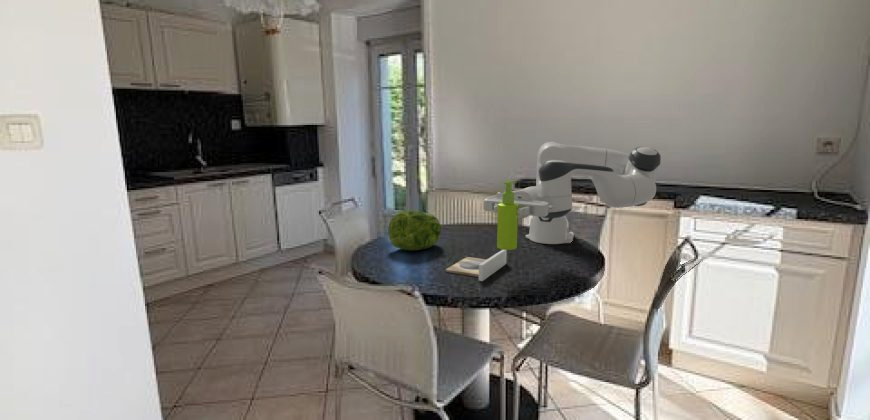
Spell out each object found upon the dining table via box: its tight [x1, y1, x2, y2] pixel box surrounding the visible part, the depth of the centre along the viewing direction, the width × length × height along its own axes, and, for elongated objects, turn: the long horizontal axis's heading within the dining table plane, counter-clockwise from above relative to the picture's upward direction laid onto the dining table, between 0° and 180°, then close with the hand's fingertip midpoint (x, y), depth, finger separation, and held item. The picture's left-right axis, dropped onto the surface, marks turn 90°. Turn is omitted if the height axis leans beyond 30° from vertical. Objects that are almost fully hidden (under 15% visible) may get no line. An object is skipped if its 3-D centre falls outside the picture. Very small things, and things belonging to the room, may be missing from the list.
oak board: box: [445, 256, 487, 278], centre depth 156 cm, size 16×12×1 cm
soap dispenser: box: [496, 180, 519, 251], centre depth 141 cm, size 6×7×20 cm
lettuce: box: [387, 210, 443, 252], centre depth 179 cm, size 16×21×15 cm
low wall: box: [478, 249, 508, 282], centre depth 151 cm, size 20×1×5 cm, turn 151°
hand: (507, 210), depth 140 cm, fingers closed on soap dispenser, 6 cm apart
